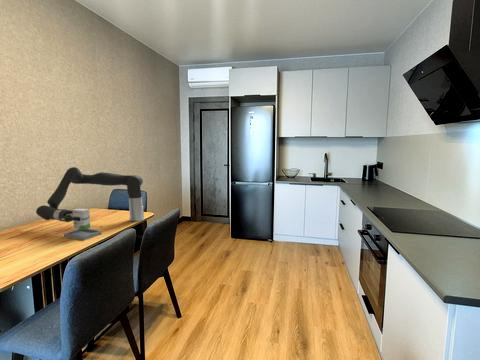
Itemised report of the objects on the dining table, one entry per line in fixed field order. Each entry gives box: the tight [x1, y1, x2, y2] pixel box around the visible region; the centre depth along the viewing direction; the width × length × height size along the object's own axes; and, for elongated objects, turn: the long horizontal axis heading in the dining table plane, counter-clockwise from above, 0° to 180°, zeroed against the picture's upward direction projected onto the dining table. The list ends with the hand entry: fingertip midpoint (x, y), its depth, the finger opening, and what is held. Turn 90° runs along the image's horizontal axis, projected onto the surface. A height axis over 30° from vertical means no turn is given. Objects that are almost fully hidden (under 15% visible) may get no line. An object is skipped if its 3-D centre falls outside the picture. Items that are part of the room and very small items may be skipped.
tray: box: [63, 228, 103, 241], centre depth 165 cm, size 13×17×2 cm
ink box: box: [72, 208, 92, 230], centre depth 164 cm, size 9×5×12 cm, turn 71°
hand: (83, 218), depth 163 cm, fingers closed on ink box, 5 cm apart
